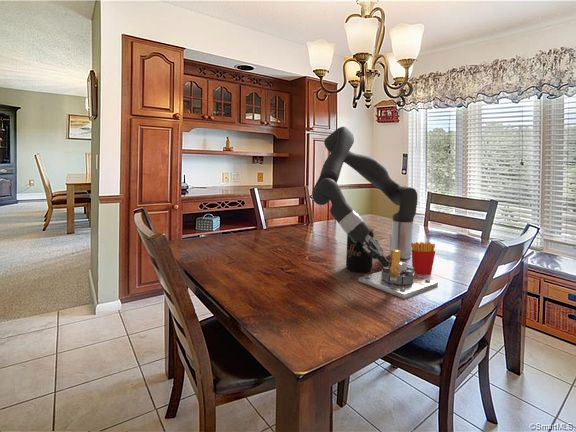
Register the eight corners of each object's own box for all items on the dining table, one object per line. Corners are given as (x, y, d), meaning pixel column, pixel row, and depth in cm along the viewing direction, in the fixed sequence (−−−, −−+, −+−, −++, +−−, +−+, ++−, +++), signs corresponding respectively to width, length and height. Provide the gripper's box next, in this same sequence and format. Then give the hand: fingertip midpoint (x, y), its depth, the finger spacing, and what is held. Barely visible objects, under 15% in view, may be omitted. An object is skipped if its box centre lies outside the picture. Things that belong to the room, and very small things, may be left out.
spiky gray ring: (385, 272, 135) (387, 239, 133) (415, 276, 130) (418, 242, 128) (375, 286, 119) (377, 249, 117) (409, 292, 115) (412, 254, 112)
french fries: (430, 272, 141) (433, 241, 139) (434, 275, 137) (437, 243, 135) (408, 271, 142) (410, 240, 140) (410, 274, 138) (413, 243, 136)
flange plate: (358, 281, 130) (359, 260, 128) (392, 271, 141) (393, 252, 140) (404, 298, 114) (405, 275, 113) (437, 286, 125) (439, 265, 124)
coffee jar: (341, 266, 147) (342, 225, 144) (362, 264, 151) (364, 223, 148) (354, 274, 137) (356, 230, 134) (377, 271, 141) (379, 228, 138)
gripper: (351, 230, 128) (382, 266, 125) (341, 236, 116) (375, 277, 113) (366, 217, 125) (399, 254, 122) (358, 222, 113) (393, 264, 110)
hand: (387, 265), depth 118 cm, fingers closed
